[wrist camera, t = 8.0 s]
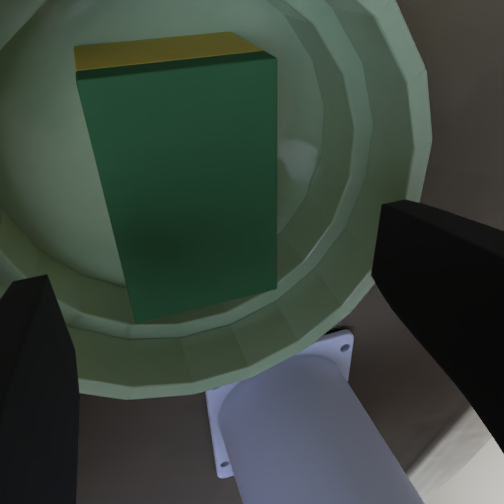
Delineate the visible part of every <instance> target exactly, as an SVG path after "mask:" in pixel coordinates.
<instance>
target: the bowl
mask: <svg viewBox="0 0 504 504" xmlns="http://www.w3.org/2000/svg"><path fill="white" fill-rule="evenodd" d="M229 31H230V32H233V33H234V34H236V35H238V36H240V37H241V38H243V39H245V40H246V41H248V42H250V43H252V44H253V45H255V46H257V47H259V48H260V49H262V50H264V51H265V52H267V53H269V54H271V55H272V56H274V57H276V58H277V289H276V290H272V291H268V292H264V293H260V294H256V295H252V296H247V297H243V298H239V299H235V300H231V301H227V302H223V303H219V304H215V305H211V306H207V307H203V308H199V309H195V310H191V311H186V312H182V313H178V314H174V315H170V316H166V317H162V318H158V319H154V320H150V321H146V322H142V323H136V322H135V319H134V315H133V311H132V306H131V302H130V298H129V294H128V290H127V286H126V282H125V278H124V274H123V270H122V266H121V262H120V258H119V254H118V250H117V246H116V242H115V238H114V234H113V230H112V226H111V222H110V218H109V214H108V210H107V206H106V202H105V197H104V193H103V189H102V185H101V181H100V177H99V173H98V169H97V165H96V161H95V157H94V153H93V149H92V145H91V141H90V137H89V133H88V129H87V125H86V121H85V117H84V113H83V109H82V105H81V101H80V97H79V93H78V88H77V84H76V75H75V63H74V49H73V48H74V46H82V45H92V44H103V43H113V42H124V41H134V40H145V39H156V38H166V37H177V36H187V35H198V34H208V33H219V32H229ZM432 140H433V139H432V127H431V115H430V103H429V92H428V80H427V70H426V69H425V65H424V63H423V61H422V58H421V56H420V54H419V52H418V49H417V47H416V45H415V43H414V40H413V38H412V36H411V34H410V31H409V29H408V27H407V25H406V22H405V20H404V18H403V16H402V13H401V11H400V9H399V7H398V4H397V2H396V0H0V299H1V297H2V296H3V294H4V293H5V292H6V290H7V289H8V287H9V286H10V285H11V283H12V282H13V281H17V280H21V279H26V278H31V277H36V276H41V275H45V274H48V277H49V280H50V283H51V285H52V288H53V291H54V293H55V296H56V299H57V302H58V304H59V307H60V310H61V312H62V315H63V318H64V320H65V323H66V326H67V329H68V331H69V334H70V337H71V339H72V342H73V345H74V348H75V352H76V362H77V372H78V383H79V393H81V394H88V395H94V396H101V397H108V398H115V399H122V400H128V399H129V400H134V399H147V398H160V397H172V396H185V395H191V394H193V395H194V394H197V393H201V392H204V391H208V390H211V389H214V388H218V387H221V386H225V385H228V384H232V383H235V382H238V381H242V380H245V379H249V378H251V377H254V376H256V375H258V374H259V373H261V372H263V371H265V370H267V369H269V368H271V367H273V366H275V365H277V364H279V363H281V362H282V361H284V360H286V359H288V358H290V357H292V356H294V355H296V354H298V353H300V352H302V351H303V350H304V349H307V348H308V347H309V346H310V345H311V344H313V343H314V342H315V341H316V340H318V339H319V338H320V337H321V336H323V335H324V334H325V333H326V332H328V331H329V330H330V329H331V328H333V327H334V326H335V325H336V324H337V323H339V322H340V321H341V320H342V319H344V318H345V317H346V316H347V315H349V314H350V313H351V311H352V310H354V308H355V307H356V306H357V305H358V304H359V302H360V301H361V300H362V299H363V297H364V296H365V295H366V294H367V292H368V291H369V290H370V289H371V288H372V286H373V285H374V284H375V281H374V280H373V278H372V276H371V272H372V265H373V258H374V252H375V245H376V238H377V232H378V225H379V218H380V211H381V205H382V204H385V203H390V202H395V201H399V200H404V199H405V200H410V201H414V202H418V203H420V198H421V194H422V189H423V184H424V179H425V174H426V170H427V165H428V160H429V155H430V150H431V146H432Z"/></svg>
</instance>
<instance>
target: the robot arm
mask: <svg viewBox="0 0 504 504" xmlns="http://www.w3.org/2000/svg"><path fill="white" fill-rule="evenodd" d="M371 276H372V278H373V280H374V281H375V283H376V285H377V286H378V288H379V290H380V291H381V293H382V295H383V296H384V298H385V299H386V301H387V302H388V304H389V305H390V307H391V309H392V310H393V311H394V312H395V314H396V315H397V316H398V317H399V319H400V320H401V321H402V322H403V323H404V325H405V326H406V327H407V328H408V329H409V331H410V332H411V333H412V334H413V335H414V337H415V338H416V339H417V340H418V341H419V342H420V344H421V345H422V346H423V347H424V348H425V349H426V351H427V352H428V353H429V354H430V355H431V356H432V358H433V359H434V360H435V361H436V362H437V363H438V365H439V366H440V367H441V368H442V369H443V370H444V372H445V373H446V374H447V375H448V376H449V377H450V379H451V380H452V381H453V382H454V383H455V385H456V386H457V387H458V388H459V390H460V391H461V392H462V394H463V395H464V396H465V397H466V399H467V400H468V401H469V403H470V404H471V406H472V407H473V409H474V410H475V412H476V413H477V414H478V416H479V417H480V419H481V420H482V422H483V423H484V425H485V426H486V427H487V429H488V430H489V432H490V433H491V435H492V436H493V438H494V439H495V441H496V442H497V444H498V445H499V447H500V448H501V450H502V452H503V453H504V231H502V230H499V229H496V228H493V227H490V226H487V225H484V224H481V223H478V222H476V221H473V220H470V219H467V218H464V217H461V216H458V215H455V214H452V213H450V212H447V211H444V210H441V209H438V208H434V207H431V206H428V205H425V204H422V203H418V202H414V201H410V200H405V199H404V200H399V201H395V202H390V203H385V204H382V205H381V211H380V218H379V225H378V232H377V238H376V245H375V252H374V258H373V265H372V272H371ZM353 342H354V335H353V334H352V333H351V331H350V330H347V329H346V330H341V331H337V332H333V333H330V334H326V335H323V336H321V337H320V338H319V339H318V340H316V341H315V342H314V343H313V344H311V345H310V346H309V347H308V348H307V349H304V350H303V351H302V352H300V353H298V354H296V355H294V356H292V357H290V358H288V359H286V360H284V361H282V362H281V363H279V364H277V365H275V366H273V367H271V368H269V369H267V370H265V371H263V372H261V373H259V374H258V375H256V376H254V377H251V378H249V379H245V380H242V381H238V382H235V383H232V384H228V385H225V386H221V387H218V388H214V389H211V390H208V391H205V396H206V403H207V410H208V417H209V424H210V431H211V438H212V445H213V452H214V459H215V466H216V472H217V475H218V477H219V478H227V477H230V476H233V475H234V476H235V480H236V483H237V486H238V489H239V492H240V496H241V499H242V502H243V504H424V502H423V501H422V499H421V497H420V496H419V494H418V493H417V491H416V489H415V488H414V486H413V485H412V483H411V482H410V480H409V478H408V477H407V475H406V474H405V472H404V471H403V469H402V467H401V466H400V464H399V463H398V461H397V460H396V458H395V456H394V455H393V453H392V452H391V450H390V448H389V447H388V445H387V444H386V442H385V441H384V439H383V437H382V436H381V434H380V433H379V431H378V430H377V428H376V426H375V425H374V423H373V422H372V420H371V418H370V417H369V415H368V414H367V412H366V411H365V409H364V407H363V406H362V404H361V403H360V401H359V400H358V398H357V396H356V395H355V393H354V392H353V390H352V388H351V387H350V385H349V384H348V377H349V370H350V363H351V356H352V349H353ZM79 399H80V394H79V383H78V372H77V362H76V352H75V348H74V345H73V342H72V339H71V337H70V334H69V331H68V329H67V326H66V323H65V320H64V318H63V315H62V312H61V310H60V307H59V304H58V302H57V299H56V296H55V293H54V291H53V288H52V285H51V283H50V280H49V277H48V274H45V275H41V276H36V277H31V278H26V279H21V280H17V281H13V282H12V283H11V285H10V286H9V287H8V289H7V290H6V292H5V293H4V294H3V296H2V297H1V299H0V504H76V485H77V458H78V432H79Z"/></svg>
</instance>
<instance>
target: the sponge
mask: <svg viewBox="0 0 504 504" xmlns="http://www.w3.org/2000/svg"><path fill="white" fill-rule="evenodd" d="M73 49H74V63H75V75H76V84H77V88H78V93H79V97H80V101H81V105H82V109H83V113H84V117H85V121H86V125H87V129H88V133H89V137H90V141H91V145H92V149H93V153H94V157H95V161H96V165H97V169H98V173H99V177H100V181H101V185H102V189H103V193H104V197H105V202H106V206H107V210H108V214H109V218H110V222H111V226H112V230H113V234H114V238H115V242H116V246H117V250H118V254H119V258H120V262H121V266H122V270H123V274H124V278H125V282H126V286H127V290H128V294H129V298H130V302H131V306H132V311H133V315H134V319H135V322H136V323H142V322H146V321H150V320H154V319H158V318H162V317H166V316H170V315H174V314H178V313H182V312H186V311H191V310H195V309H199V308H203V307H207V306H211V305H215V304H219V303H223V302H227V301H231V300H235V299H239V298H243V297H247V296H252V295H256V294H260V293H264V292H268V291H272V290H276V289H277V58H276V57H274V56H272V55H271V54H269V53H267V52H265V51H264V50H262V49H260V48H259V47H257V46H255V45H253V44H252V43H250V42H248V41H246V40H245V39H243V38H241V37H240V36H238V35H236V34H234V33H233V32H230V31H229V32H219V33H208V34H198V35H187V36H177V37H166V38H156V39H145V40H134V41H124V42H113V43H103V44H92V45H82V46H74V48H73Z"/></svg>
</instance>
